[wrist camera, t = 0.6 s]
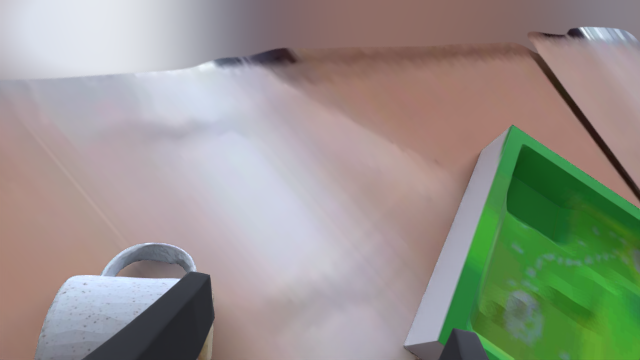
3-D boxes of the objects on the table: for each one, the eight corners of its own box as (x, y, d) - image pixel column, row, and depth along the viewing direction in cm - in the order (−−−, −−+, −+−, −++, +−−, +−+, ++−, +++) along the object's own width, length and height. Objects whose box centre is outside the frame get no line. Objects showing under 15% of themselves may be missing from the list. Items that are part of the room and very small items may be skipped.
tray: (671, 535, 28) (754, 563, 24) (403, 346, 29) (437, 340, 25) (664, 272, 41) (716, 260, 37) (481, 149, 42) (512, 124, 38)
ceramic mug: (207, 406, 23) (211, 411, 17) (61, 425, 21) (1, 440, 15) (213, 248, 28) (218, 208, 22) (96, 250, 26) (62, 204, 20)
